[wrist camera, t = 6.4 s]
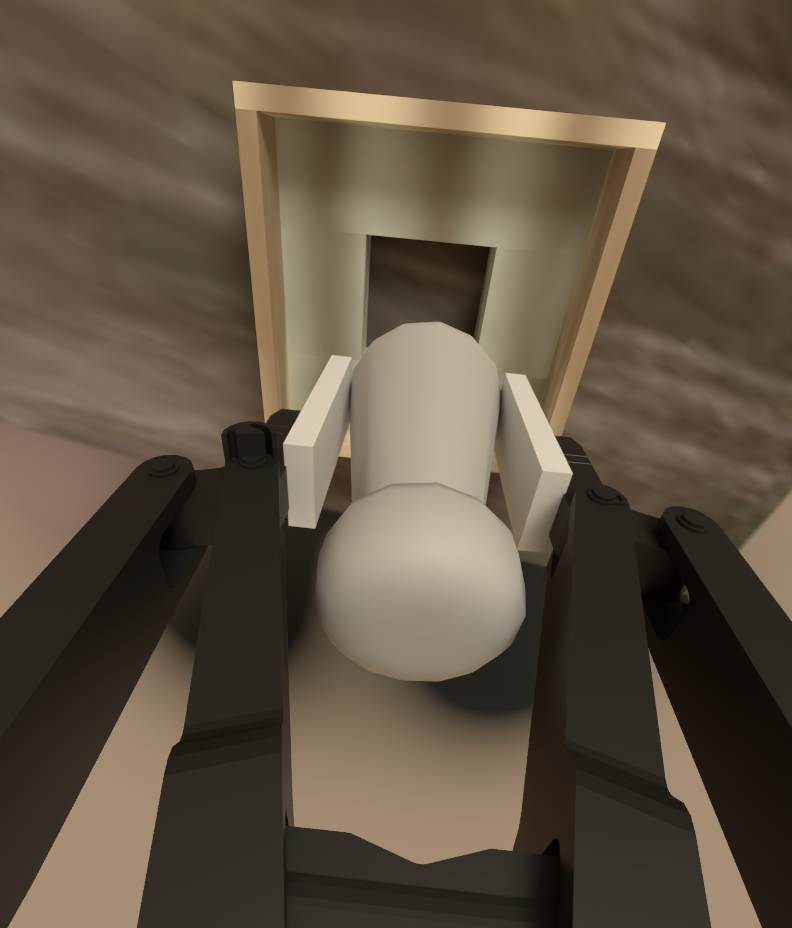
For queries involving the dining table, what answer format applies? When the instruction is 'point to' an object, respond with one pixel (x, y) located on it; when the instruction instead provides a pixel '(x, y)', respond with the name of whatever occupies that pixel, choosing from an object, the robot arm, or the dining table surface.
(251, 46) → the dining table surface
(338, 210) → the insert box
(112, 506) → the robot arm
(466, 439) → the salt shaker
